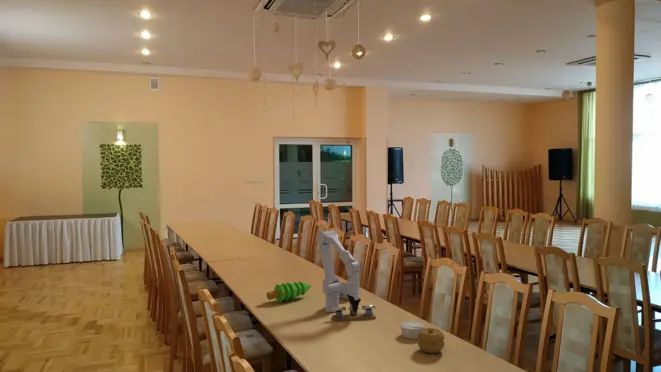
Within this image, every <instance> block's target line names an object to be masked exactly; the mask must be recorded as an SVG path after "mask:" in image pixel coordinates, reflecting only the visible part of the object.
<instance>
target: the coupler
mask: <svg viewBox="0 0 661 372" xmlns="http://www.w3.org/2000/svg"><path fill="white" fill-rule="evenodd" d="M347 309H348V311H349V314H350V316H353V317H354V316H357V313H358V311H357V312H353V309H352V304H351V303H349V306H348V308H347ZM359 309H360V307H359V306H358V310H359Z"/></svg>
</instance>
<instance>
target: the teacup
mask: <svg viewBox="0 0 661 372" xmlns="http://www.w3.org/2000/svg"><path fill="white" fill-rule="evenodd" d="M340 283H341V285H342V290H341V292H340V294H339V297H340V299H342V300H349V299H348V296H347V294H348V281H347V282H346V281H345V282H340Z"/></svg>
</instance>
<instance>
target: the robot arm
mask: <svg viewBox="0 0 661 372" xmlns="http://www.w3.org/2000/svg"><path fill="white" fill-rule="evenodd" d="M316 240H317V244H318V249H319V252H320V257H321V261H322V262H321V263H322V266H323V271H324V272H323V273H324V276H325V278H324V279H323V280H322V292H323V294H324V295H325V306H323V308H324V310H325V312H326V313H335V311H332V307H340V298H339V297H340V296H339V294H340V292H341V290H342V285H341V283H342V282H341V281H340V278H339V277H337V276H336V274H335V269H334V265H333V261H332V256H331V252H330V248H331V246H333V248H334V249H335V250H336V252H338V254H339V259H340V260H341V262H342V263H343V264H344V266H345V270H346V275H347V282H348V294H347V296H348V299H347V300H348V303H349V304H350V303H351V304H352V309H353V312H357V313H358V310H359V309H358V307H359V305H360V303H361V301H362V299H361V297H359V296H360V295H361V294H362V291H360V271H361V270H362V264H361V262H360V261H359V260H357V259H355V258H354V257H353V255H352V254H351V253H350V251H349V250H346V249H345V248H344V246H343V245H342V243H341V241H340V239H339V234H338V233H337V232H336V230H333V229H331V230H326V231H325V230H323V231H319V232H318V233H317V236H316Z"/></svg>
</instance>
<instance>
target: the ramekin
mask: <svg viewBox="0 0 661 372" xmlns="http://www.w3.org/2000/svg"><path fill="white" fill-rule="evenodd" d="M400 329H401V334H402V336H403V338H406V339H408V340H409V339H411V340H418V339H419V338H418V337H417V334H418V332H419V331H420V330H422V329H425V324H424V323H422V322H421V321H416V320H407V321H406V320H405V321H403V322H401V323H400Z"/></svg>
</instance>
